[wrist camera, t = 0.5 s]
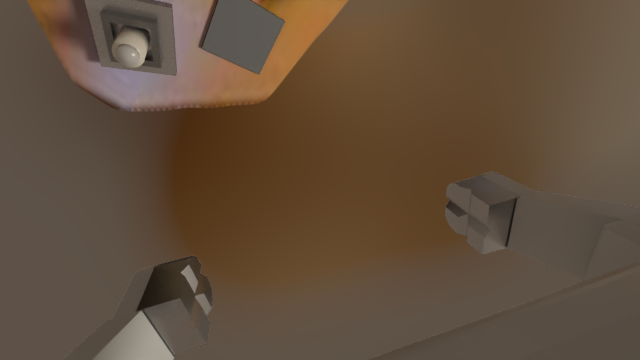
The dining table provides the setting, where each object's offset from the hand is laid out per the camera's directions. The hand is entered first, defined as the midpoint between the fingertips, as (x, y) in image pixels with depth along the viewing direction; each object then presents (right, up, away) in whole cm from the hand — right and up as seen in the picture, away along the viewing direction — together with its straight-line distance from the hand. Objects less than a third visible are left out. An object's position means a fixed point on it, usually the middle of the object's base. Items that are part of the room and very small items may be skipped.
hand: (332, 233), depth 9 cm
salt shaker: (-30, +24, +35) cm, 52 cm away
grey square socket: (-30, +26, +37) cm, 54 cm away
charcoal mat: (-14, +28, +41) cm, 52 cm away
